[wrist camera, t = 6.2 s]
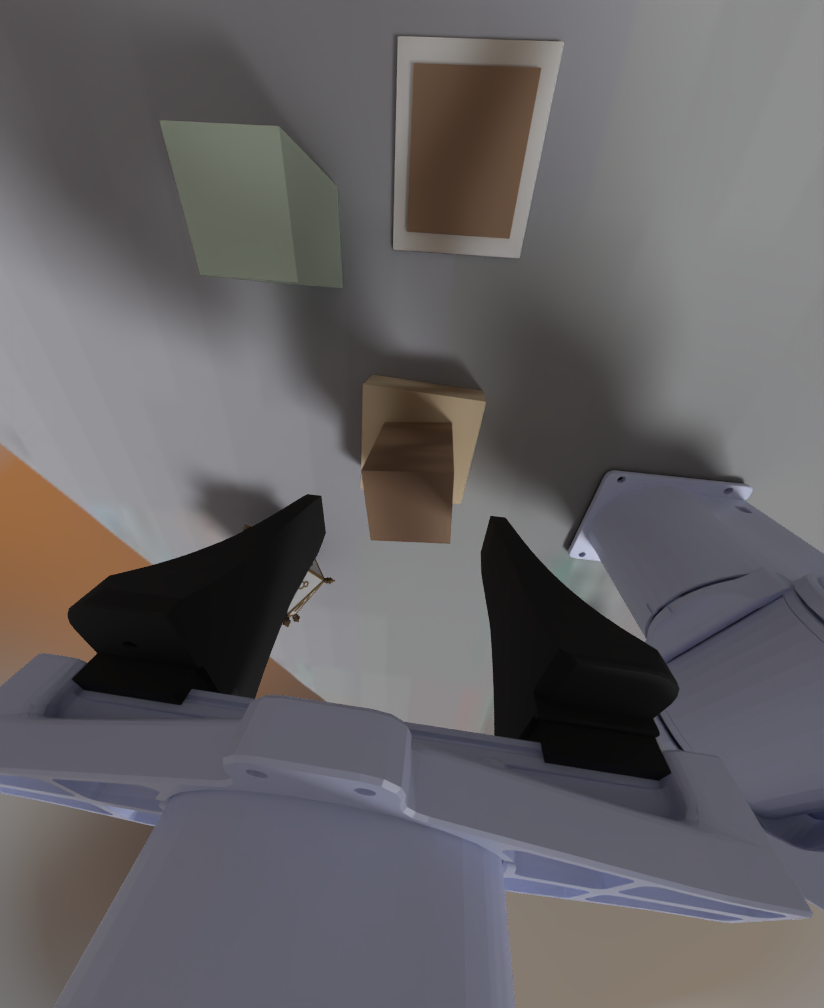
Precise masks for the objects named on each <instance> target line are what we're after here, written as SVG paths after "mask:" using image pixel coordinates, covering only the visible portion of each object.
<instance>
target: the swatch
mask: <svg viewBox="0 0 824 1008" xmlns="http://www.w3.org/2000/svg"><path fill="white" fill-rule="evenodd" d="M563 47H564V42H558V41H528V40H499V39H470V38H440V37H411V36H398V50H397V95H396V139H395V183H394V227H393V250H404V251H418V252H432V253H446V254H460V255H474V256H488V257H503V258H517V259H519V258H520V254H521V249H522V244H523V239H524V235H525V230H526V225H527V220H528V215H529V211H530V206H531V201H532V196H533V191H534V186H535V182H536V177H537V172H538V167H539V162H540V158H541V153H542V148H543V143H544V138H545V133H546V129H547V124H548V119H549V114H550V109H551V105H552V100H553V95H554V90H555V85H556V80H557V76H558V71H559V66H560V61H561V56H562V52H563Z"/></svg>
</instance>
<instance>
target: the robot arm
mask: <svg viewBox="0 0 824 1008" xmlns="http://www.w3.org/2000/svg"><path fill="white" fill-rule="evenodd" d="M619 477H623V478H622V479H621V480H617V479H618V478H619ZM726 489H727V490H726ZM725 490H726V491H725ZM752 491H753V488H752V487H750V486H749V485H747V484H741V483H731V482H722V481H712V480H703V479H693V478H683V477H674V476H664V475H655V474H645V473H636V472H626V471H617V470H612V471H609V472H607V473H606V474H605V476H604V478H603V480H602V482H601V484H600V486H599V488H598V490H597V492H596V494H595V496H594V498H593V500H592V502H591V504H590V506H589V508H588V510H587V513H586V515H585V517H584V519H583V521H582V523H581V525H580V527H579V529H578V531H577V533H576V535H575V537H574V539H573V541H572V543H571V546H570V548H569V550H568V554H569V556H570V557H572V558H579V559H587V560H596V561H601V562H602V564H603V565H604V567H605V569H606V571H607V572H608V574H609V576H610V577H611V579H612V581H613V583H614V584H615V586H616V588H617V590H618V591H619V593H620V595H621V596H622V598H623V600H624V602H625V603H626V605H627V607H628V608H629V610H630V612H631V614H632V615H633V617H634V619H635V620H636V622H637V624H638V626H639V627H640V629H641V631H642V632H643V634H644V636H645V638H646V639H647V640H646V642H643V641H642V640H640V639H638V638H637V637H635V636H633V635H632V634H630V633H628V632H627V631H625V630H624V629H622V628H621V627H619V626H618V625H616V624H615V623H613V622H612V621H610V620H609V619H607V618H606V617H604V616H603V615H602V614H600V613H599V612H597V611H596V610H595V609H593V608H592V607H591V606H589V605H588V604H587V603H586V602H584V601H583V600H582V599H581V598H579V597H578V596H577V595H576V594H574V593H573V592H572V591H571V590H570V589H569V588H567V587H566V586H565V585H564V584H563V583H562V582H561V581H560V580H559V579H558V578H556V577H555V576H554V575H553V574H552V573H551V572H550V571H549V570H548V569H547V568H546V567H545V565H544V564H543V563H542V562H541V561H540V560H539V559H538V558H537V557H536V556H535V554H534V553H533V552H532V551H531V550H530V549H529V547H528V546H527V545H526V544H525V543H524V541H523V540H522V539H521V537H520V536H519V535H518V534H517V532H516V531H515V530H514V528H513V527H512V526H511V524H510V523H509V522H508V520H507V519H506V518H504V517H495V516H490V520H489V524H488V528H487V531H486V535H485V539H484V542H483V546H482V550H481V573H482V580H483V586H484V592H485V598H486V604H487V610H488V616H489V622H490V630H491V644H492V662H493V685H494V728H495V730H494V732H495V733H494V735H495V736H493V735H486V734H480V733H473V732H467V731H460V730H454V729H447V728H441V727H434V726H428V725H422V724H415V723H409V722H403V721H402V720H400V719H399V718H397V717H395V716H394V715H392V714H389V713H385V712H381V711H378V710H374V709H369V708H362V707H356V706H349V705H342V704H336V703H329V702H322V701H316V700H310V699H303V698H297V697H290V696H283V695H265V696H263V697H260V698H258V699H255V697H256V693H257V691H258V687H259V685H260V682H261V679H262V676H263V673H264V670H265V667H266V664H267V662H268V659H269V656H270V653H271V651H272V648H273V645H274V643H275V640H276V638H277V635H278V633H279V630H280V628H281V625H282V623H283V620H284V618H285V616H286V613H287V611H288V609H289V606H290V604H291V602H292V600H293V598H294V596H295V594H296V592H297V590H298V589H299V587H300V585H301V583H302V581H303V580H304V578H305V576H306V574H307V572H308V571H309V569H310V567H311V565H312V563H313V562H314V560H315V558H316V556H317V554H318V552H319V550H320V547H321V545H322V542H323V539H324V536H325V534H326V531H325V523H324V514H323V506H322V498H321V496H318V495H309V494H307V495H305V496H303V497H302V498H300V499H298V500H297V501H295V502H293V503H292V504H290V505H289V506H287V507H285V508H284V509H282V510H280V511H279V512H277V513H275V514H274V515H272V516H271V517H269V518H267V519H265V520H263V521H262V522H260V523H258V524H256V525H254V526H253V527H251V528H249V529H247V530H245V531H243V532H241V533H239V534H237V535H235V536H233V537H230V538H228V539H226V540H224V541H222V542H219V543H217V544H214V545H212V546H209V547H206V548H204V549H201V550H198V551H196V552H193V553H190V554H187V555H184V556H181V557H178V558H175V559H172V560H169V561H165V562H162V563H159V564H155V565H151V566H148V567H144V568H139V569H136V570H131V571H127V572H123V573H119V574H115V575H110V576H109V577H107V578H106V579H105V580H103V581H102V582H101V583H100V584H99V585H97V586H96V587H95V588H94V589H92V590H91V591H90V592H89V593H87V594H86V595H85V596H84V597H82V598H81V599H80V600H79V601H78V602H76V603H75V604H74V605H73V606H71V607H70V608H69V611H68V619H69V622H70V624H71V625H72V626H73V628H74V629H75V630H76V631H77V632H78V633H79V634H80V636H81V637H83V639H84V640H85V641H86V642H87V643H88V644H89V645H90V646H91V647H92V648H93V649H94V650H95V651H96V652H97V654H96V656H94V657H93V659H91V660H90V661H89V662H88V663H86V662H84V661H82V660H80V659H76V658H72V657H65V656H59V655H52V654H45V653H42V654H38V655H37V656H36V657H35V658H33V659H32V660H31V661H30V662H29V663H28V664H26V665H25V666H24V667H23V668H22V669H20V670H19V671H18V672H17V673H16V674H15V675H13V676H12V677H11V678H10V679H9V680H8V681H6V682H5V683H4V684H3V685H2V686H1V687H0V793H2V794H7V795H12V796H18V797H23V798H28V799H33V800H38V801H43V802H48V803H53V804H58V805H62V806H67V807H72V808H77V809H81V810H85V811H90V812H94V813H98V814H103V815H108V816H112V817H116V818H121V819H125V820H129V821H133V822H138V823H142V824H147V825H151V826H155V827H154V829H153V831H152V833H151V835H150V837H149V838H148V840H147V842H146V843H145V846H144V847H143V849H142V851H141V852H140V854H139V856H138V858H137V859H136V861H135V863H134V865H133V866H132V868H131V870H130V872H129V874H128V875H127V877H126V879H125V881H124V882H123V884H122V886H121V888H120V890H119V892H118V893H117V895H116V897H115V898H114V900H113V902H112V904H111V906H110V907H109V909H108V911H107V913H106V914H105V916H104V918H103V920H102V922H101V923H100V925H99V927H98V929H97V930H96V932H95V934H94V936H93V937H92V939H91V941H90V943H89V945H88V946H87V948H86V950H85V952H84V953H83V955H82V957H81V959H80V961H79V962H78V964H77V966H76V968H75V969H74V971H73V973H72V975H71V977H70V978H69V980H68V982H67V984H66V986H65V987H64V989H63V991H62V993H61V994H60V996H59V998H58V1000H57V1001H56V1003H55V1005H54V1007H53V1008H516V1007H515V996H514V985H513V975H512V963H511V953H510V941H509V930H508V920H507V909H506V899H505V891H509V892H516V893H524V894H532V895H540V896H547V897H555V898H562V899H569V900H577V901H584V902H592V903H600V904H607V905H616V906H622V907H630V908H636V909H643V910H650V911H657V912H663V913H670V914H676V915H683V916H688V917H694V918H700V919H706V920H712V921H718V922H723V923H739V922H756V921H757V922H758V921H773V920H774V921H775V920H792V919H808V918H812V914H813V912H812V911H811V909H810V907H809V906H808V904H807V902H806V901H805V899H806V900H807V901H809V902H810V903H812V904H814V905H815V906H817V907H818V908H820V909H821V910H823V911H824V554H823V553H822V552H820V551H819V550H817V549H816V548H814V547H813V546H811V545H810V544H808V543H807V542H805V541H804V540H802V539H801V538H799V537H798V536H796V535H795V534H793V533H792V532H790V531H789V530H787V529H786V528H785V527H783V526H782V525H780V524H779V523H777V522H776V521H774V520H773V519H771V518H770V517H768V516H767V515H765V514H764V513H762V512H761V511H759V510H758V509H756V508H755V507H753V506H752V505H750V504H749V503H747V502H746V501H745V500H746V499H747V498H748V497H749V496H750V494H751V493H752ZM581 552H583V553H581ZM579 553H581V554H579ZM655 737H656V739H657V741H658V742H659V744H660V745H661V747H662V748H663V750H664V751H661V749H660V747H659V745H658V743H657V741H656V739H655Z"/></svg>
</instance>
